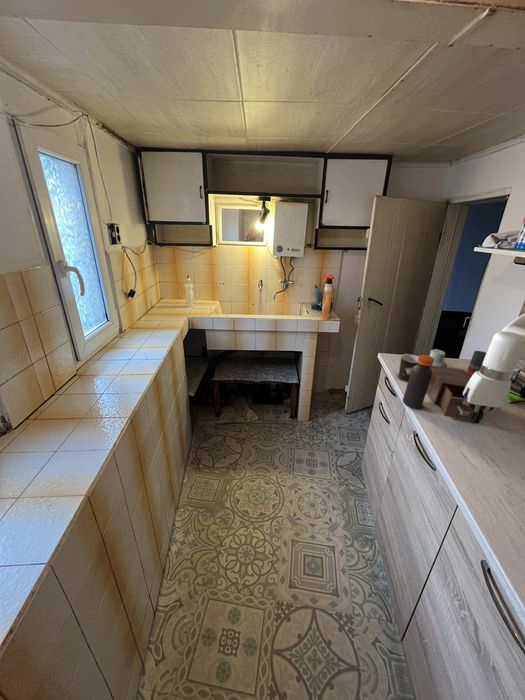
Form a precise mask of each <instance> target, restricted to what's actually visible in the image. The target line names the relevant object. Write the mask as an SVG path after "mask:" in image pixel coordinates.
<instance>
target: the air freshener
mask: <svg viewBox="0 0 525 700" xmlns="http://www.w3.org/2000/svg"><path fill="white" fill-rule="evenodd" d="M429 356H430V357H432V358H434V362H433V365H432V366H439V367H446V368H448V364H447V362H446V361H445V357H446V352H445V351H443V350H442V349H441V350H440V349H437V348H435V349H431V350H430V354H429Z"/></svg>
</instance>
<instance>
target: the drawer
mask: <svg viewBox="0 0 525 700" xmlns="http://www.w3.org/2000/svg"><path fill="white" fill-rule="evenodd" d="M464 389H465V388H462V387H456V386H449V385H443V387H442V390H441V393H440V396H439V398H438V401H439V403H440V404H441V405H440V406H441V408H442V410H443V413H442V415H443V416H444V417H448V418H455V419H461V420H466V421H467V420H468V421H471V420H470V418H469V415H470V412H471V410H472V408H471V407H470V406H468V405H465V404H463V403H462V400H463V398H464V397H465V396H463V392H464Z"/></svg>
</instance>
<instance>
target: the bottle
mask: <svg viewBox="0 0 525 700" xmlns="http://www.w3.org/2000/svg"><path fill="white" fill-rule="evenodd" d="M433 362H434V358H432V357H430V355H427V354H419V355H418V361H417V363H418V364H417V365H415V366H413V368H412V371H411V374H410V377H409V381H408V382H407V384H406V388H405V391H404V394H403V398H402V403H403V405H405V406H406V407H408V408H411V409H420V408H422V406H423V404H424V401H425V397H426V394H427V392H428V391H427V389H428V386H429V383H430V380H431V377H432V374H433V371H432V370H431V368H430V367H431V366H432V365H433Z"/></svg>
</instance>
